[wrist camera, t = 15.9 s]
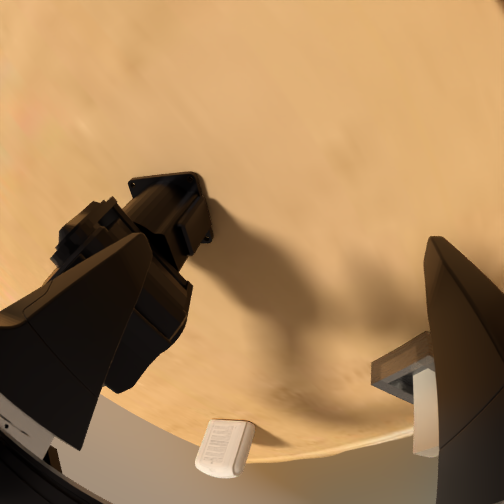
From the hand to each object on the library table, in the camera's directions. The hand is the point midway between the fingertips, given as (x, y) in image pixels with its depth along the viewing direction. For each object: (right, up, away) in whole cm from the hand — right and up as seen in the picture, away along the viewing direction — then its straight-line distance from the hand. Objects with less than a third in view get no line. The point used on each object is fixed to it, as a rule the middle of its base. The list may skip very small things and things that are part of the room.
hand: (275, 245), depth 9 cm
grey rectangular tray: (+21, -14, +22) cm, 34 cm away
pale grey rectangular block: (+21, -15, +22) cm, 34 cm away
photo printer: (-4, -34, +47) cm, 58 cm away
